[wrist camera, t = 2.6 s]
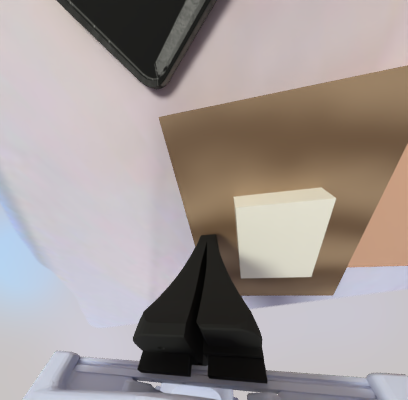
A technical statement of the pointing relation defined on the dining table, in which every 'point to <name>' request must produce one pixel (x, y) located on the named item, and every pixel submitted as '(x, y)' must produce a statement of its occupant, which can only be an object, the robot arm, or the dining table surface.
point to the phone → (143, 32)
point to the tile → (281, 232)
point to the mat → (387, 225)
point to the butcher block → (292, 164)
